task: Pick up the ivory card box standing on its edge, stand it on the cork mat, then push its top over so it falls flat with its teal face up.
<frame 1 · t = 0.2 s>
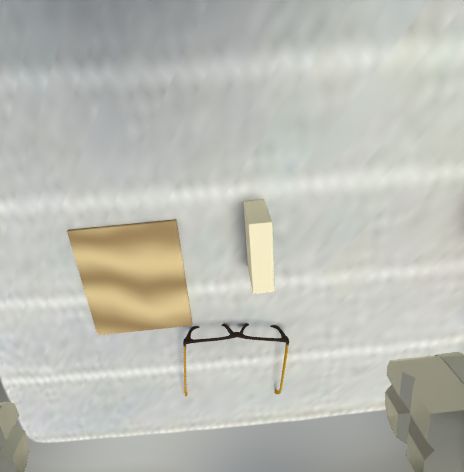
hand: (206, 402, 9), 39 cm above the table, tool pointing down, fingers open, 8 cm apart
card box: (255, 233, 51), on the table
eyeglasses: (233, 356, 61), on the table
mat: (134, 280, 53), on the table
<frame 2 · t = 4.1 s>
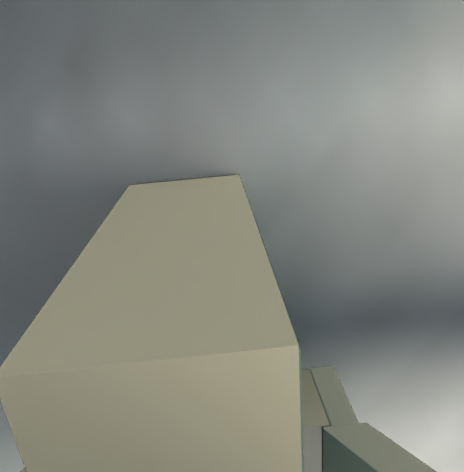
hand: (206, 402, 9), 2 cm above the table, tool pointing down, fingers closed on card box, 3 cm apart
card box: (205, 343, 11), on the table, touching gripper
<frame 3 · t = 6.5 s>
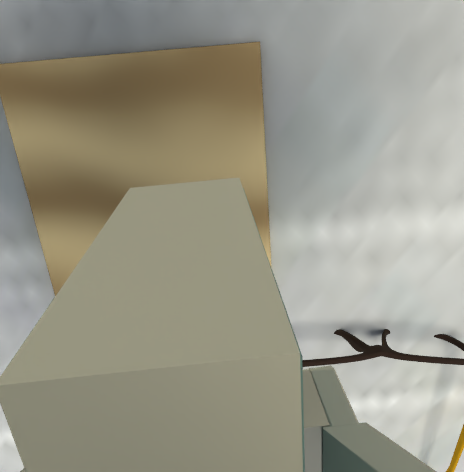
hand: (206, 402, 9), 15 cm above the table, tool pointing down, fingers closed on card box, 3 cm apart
card box: (205, 346, 11), point 13 cm above the table, touching gripper
eyeglasses: (345, 401, 30), on the table
mat: (153, 207, 23), on the table
when the fingers open (3 cm above the table, at t = 9.1 s): card box stays where it is, resting on mat.
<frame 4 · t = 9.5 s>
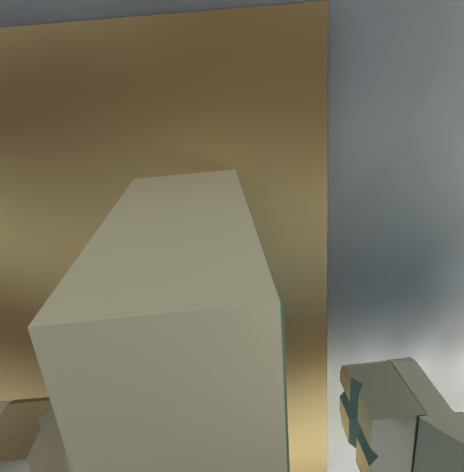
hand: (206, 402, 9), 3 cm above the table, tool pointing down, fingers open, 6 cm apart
card box: (204, 328, 12), resting on mat
mat: (103, 331, 12), on the table
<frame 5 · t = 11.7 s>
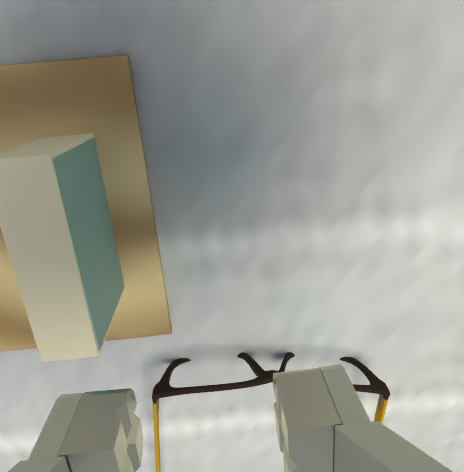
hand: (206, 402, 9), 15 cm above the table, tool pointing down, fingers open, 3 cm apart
card box: (87, 218, 22), resting on mat
eyeglasses: (259, 423, 30), on the table
mat: (36, 221, 23), on the table
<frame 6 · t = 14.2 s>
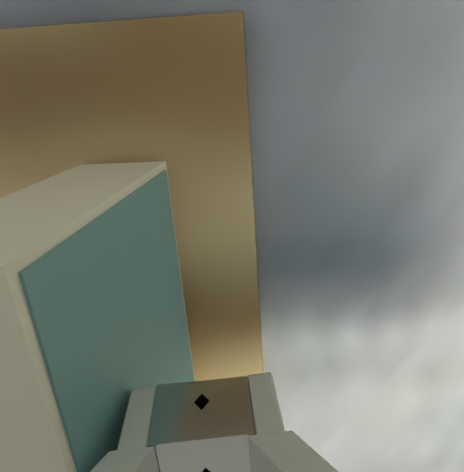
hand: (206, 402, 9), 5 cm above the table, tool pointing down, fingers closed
card box: (146, 304, 13), point 1 cm above the table, tilted 13°, touching mat
mat: (60, 302, 13), on the table
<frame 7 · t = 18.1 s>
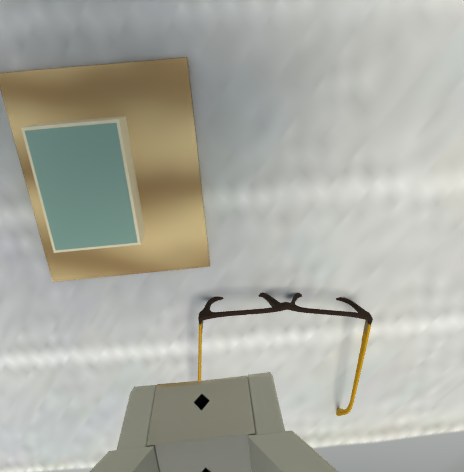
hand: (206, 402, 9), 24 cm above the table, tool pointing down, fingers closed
card box: (133, 181, 30), point 2 cm above the table, tilted 90°, touching mat
eyeglasses: (273, 352, 39), on the table
mat: (114, 178, 31), on the table
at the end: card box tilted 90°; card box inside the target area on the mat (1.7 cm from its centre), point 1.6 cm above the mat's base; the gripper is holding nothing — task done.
